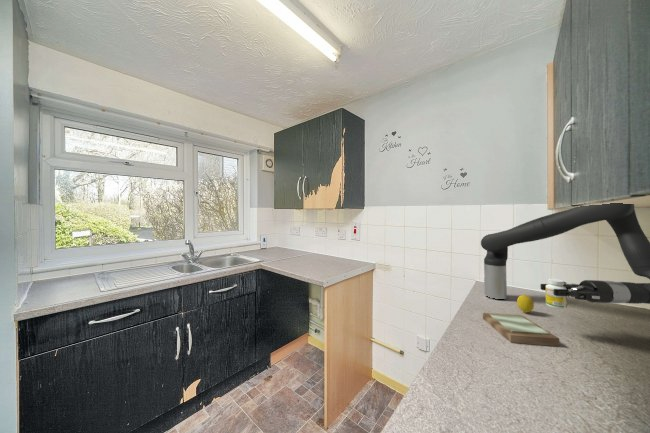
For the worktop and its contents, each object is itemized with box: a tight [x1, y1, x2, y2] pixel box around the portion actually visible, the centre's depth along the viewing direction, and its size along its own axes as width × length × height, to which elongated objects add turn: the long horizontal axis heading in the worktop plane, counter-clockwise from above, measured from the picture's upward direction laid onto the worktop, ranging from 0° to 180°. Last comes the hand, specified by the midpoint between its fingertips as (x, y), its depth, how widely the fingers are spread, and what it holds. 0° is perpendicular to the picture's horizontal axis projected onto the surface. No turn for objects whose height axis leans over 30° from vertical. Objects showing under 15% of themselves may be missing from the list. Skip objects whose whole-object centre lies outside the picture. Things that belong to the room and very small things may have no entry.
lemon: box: [516, 294, 535, 314], centre depth 98 cm, size 6×6×8 cm
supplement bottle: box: [545, 278, 568, 310], centre depth 81 cm, size 5×5×10 cm
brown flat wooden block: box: [482, 312, 560, 347], centre depth 83 cm, size 18×14×3 cm
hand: (547, 289), depth 81 cm, fingers closed on supplement bottle, 5 cm apart
